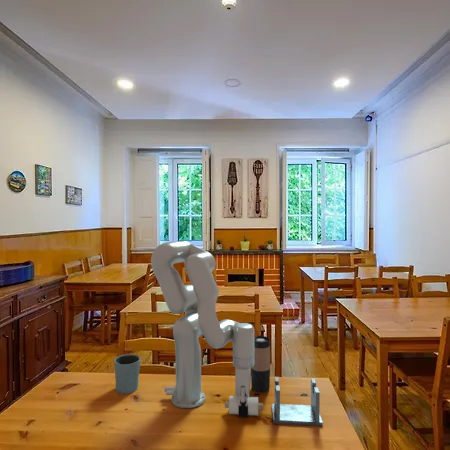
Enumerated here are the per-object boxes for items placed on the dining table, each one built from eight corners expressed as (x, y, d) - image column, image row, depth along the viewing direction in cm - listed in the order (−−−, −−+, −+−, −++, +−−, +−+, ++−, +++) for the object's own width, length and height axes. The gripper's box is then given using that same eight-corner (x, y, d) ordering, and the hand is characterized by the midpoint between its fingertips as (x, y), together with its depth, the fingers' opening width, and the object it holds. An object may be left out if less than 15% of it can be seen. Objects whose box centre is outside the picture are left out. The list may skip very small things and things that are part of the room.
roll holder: (273, 423, 112) (273, 390, 112) (271, 406, 122) (271, 376, 122) (322, 426, 111) (322, 392, 110) (317, 409, 121) (317, 378, 120)
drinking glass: (121, 381, 141) (121, 353, 141) (144, 383, 140) (144, 354, 140) (109, 394, 131) (109, 363, 131) (134, 396, 130) (134, 364, 130)
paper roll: (224, 416, 116) (224, 400, 116) (225, 408, 121) (225, 392, 122) (262, 419, 115) (262, 402, 115) (262, 410, 120) (262, 394, 120)
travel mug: (269, 394, 131) (269, 342, 131) (249, 392, 132) (249, 341, 132) (270, 385, 138) (270, 336, 138) (252, 383, 140) (252, 335, 140)
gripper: (234, 350, 127) (234, 398, 127) (230, 370, 110) (231, 425, 110) (254, 351, 126) (254, 399, 126) (254, 371, 109) (254, 427, 109)
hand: (243, 411), depth 118 cm, fingers open, 5 cm apart
